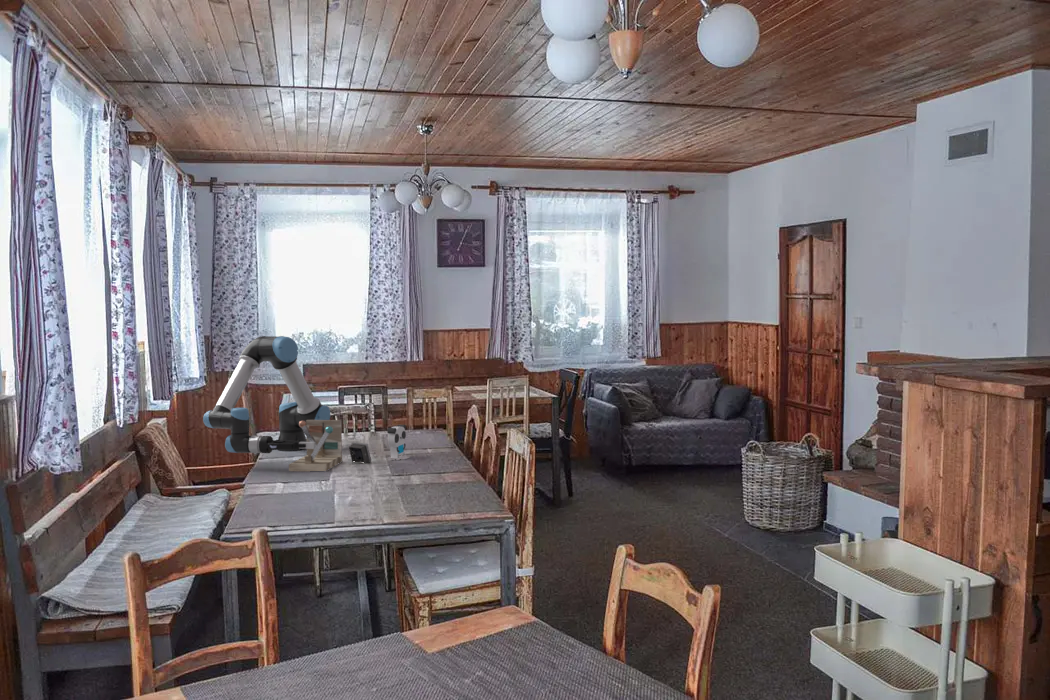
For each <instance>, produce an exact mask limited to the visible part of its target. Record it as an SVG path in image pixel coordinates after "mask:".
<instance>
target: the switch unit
mask: <svg viewBox="0 0 1050 700" xmlns="http://www.w3.org/2000/svg"><path fill="white" fill-rule="evenodd" d="M306 425H307V427H308V429H309V431H310V432H311V434H312V436H313V437H314V439H315V441H316V443H317V444H318V443H319V441H320V439H321V438H322V436H323V434H324V433H325V429H326V427H328V426H331V427H332V428H333V432H332V433H330V434H329V436H328V438H327V439H326V441H325V443H324V444H323V446H322V448H321V451H319V452H318V454H317V456H316V457H315V459H314V461H311V457H310V456H311V454H312V453H313V451H314V449H306V455H304V456H303V457H300V458H299V459H296V460H294V461H293V462H291V463H289V464H288V471H289V472H310V471H326V470H327V471H329V470H331V469H332V468H334V467H336V466H337V465H339V464H340V462H341V463H342V462H343V441H342V440H343V439H342V437H343V435H342V431H343V430H342V419H330V420H306ZM305 437H306V439H307V442H309V440H308V438H307V436H306V435H305ZM338 463H339V464H338ZM335 465H336V466H335ZM330 468H331V469H330ZM328 469H329V470H328ZM327 471H326V472H327Z"/></svg>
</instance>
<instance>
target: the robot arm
mask: <svg viewBox="0 0 1050 700" xmlns="http://www.w3.org/2000/svg"><path fill="white" fill-rule="evenodd" d="M298 350H299V347H298V344H297V343H296V341H295V340H294V339H293V338H292V337H289V336H284V335H280V336H275V335H274V336H269V335H268V336H266V335H262V336H259V337H256V338H254V339H252V340H251V341H250V342H249V343H248V344H247V345H246V346H245V347H244V349H243V350H242V351H241V353H240V355H239V357H238V363H237V366H236V367H235V369H234V370H233V372H232V374H231V376H230V378H229V380H228V382H227V384H226V385H225V386H224V389H223V390H222V393H221V395H220V396H219V398H218V400H217V402H216V404H215V406H214V407H213V409H211V410H208V411H206V412H205V413H204V414H203V417H202V421H203V424H204V426H205V427H207V428H211V429H224V430H230V434H229V435H228V436H227V437H226V438H225V442H224V447H225V450H226V451H227V452H229V453H236V454H254V455H258V454H271V453H272V451H285V452H286V451H287V452H288V451H290V450H294V451H301V450H300V449H302V450H307V449H314V448H315V442H307V437H306V435H305V433H304V431H303V430H302V428H301V427H300V426H299V422H300V421H305V422H306V420H331V410H330V407H329V406H328V405H325V404H322V403H321V401H320V399H319V398H317V397H315V396H314V394H313V392H312V391H311V388H310V387H309V385H308V382H307V381H306V379H305V377H304V375H303V372H302V371H301V369H300V367H299V365H298V363H297V360H298V355H299V351H298ZM263 362H269V363H270V364H271V365H272V367H273V369H274V370H278V372H279V373H280V375H281V377H282V379H283V380H284V382H285V384H286V386H287V388H288V390H289V392H290V394H291V396H292V397H293V400H294V401H291V402H284V403H281V404H280V405H279V406H278V407H279V411H278V419H279V420H278V421H279V424H278V425H279V434H278V439H275V440H274V439H273V438H274V437H272V435H250V413H249V411H250V410H249V408H247V407H236V405H237V403H238V401H239V399H240V397H241V395H242V394H243V392H244V390H245V388H246V386H247V384H248V383H249V381H250V379H251V377H252V375H253V373H254V372H255V369H258V368H259V367H260V365H261V363H263Z"/></svg>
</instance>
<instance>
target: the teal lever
mask: <svg viewBox="0 0 1050 700" xmlns="http://www.w3.org/2000/svg"><path fill="white" fill-rule="evenodd" d="M332 432H333V428H332V427H331V426H328V427H326V429H325V433H324V434H323V436H322V438H321V439H320V441H319V443H318V444H317V446H316V448H315V449H314V451H313V453H312V454H311V456H310V457H311V461H314V459H315V457H316V456H317V454H318V452H319V451H320V449H321V448H322V446H323V444H324V443H325V441H326V439H327V438H328V436H329V434H330V433H332Z"/></svg>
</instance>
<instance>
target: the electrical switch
mask: <svg viewBox="0 0 1050 700" xmlns="http://www.w3.org/2000/svg"><path fill="white" fill-rule="evenodd" d="M348 450H349V454H350V457H351V462H352V463H355V462H360V461H361V462H364V463H365V464H367V463H368V462H370V463H371V462H372V457H371V453H370V449H369V445H368V443H367V442H358V441H353V442H351V445H349V446H348ZM353 461H355V462H353Z"/></svg>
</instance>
